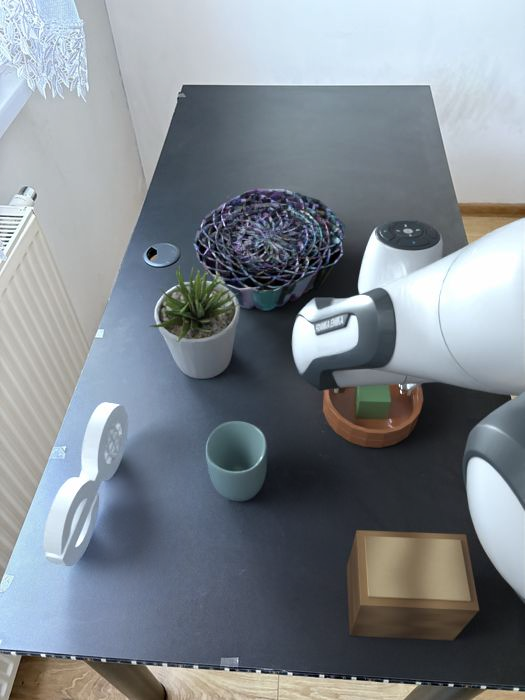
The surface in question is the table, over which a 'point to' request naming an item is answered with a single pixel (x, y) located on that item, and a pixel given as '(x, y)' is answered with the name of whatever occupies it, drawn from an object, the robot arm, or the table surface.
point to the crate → (410, 585)
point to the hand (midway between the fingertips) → (371, 390)
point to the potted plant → (199, 325)
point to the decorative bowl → (270, 246)
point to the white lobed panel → (86, 486)
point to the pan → (373, 430)
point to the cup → (237, 460)
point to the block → (372, 401)
